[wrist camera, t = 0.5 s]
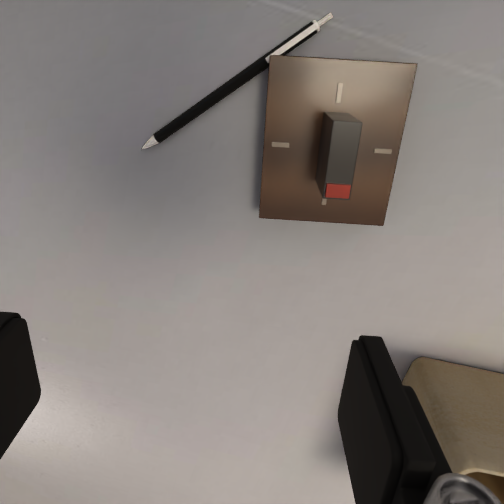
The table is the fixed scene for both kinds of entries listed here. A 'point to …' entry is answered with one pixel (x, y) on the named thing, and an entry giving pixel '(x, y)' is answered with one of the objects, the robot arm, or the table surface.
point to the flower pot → (464, 417)
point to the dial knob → (337, 155)
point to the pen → (236, 81)
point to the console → (309, 133)
